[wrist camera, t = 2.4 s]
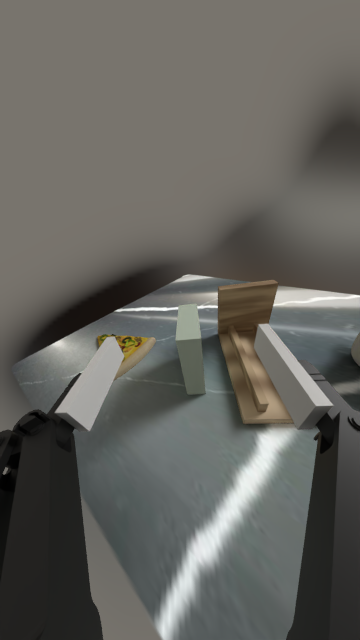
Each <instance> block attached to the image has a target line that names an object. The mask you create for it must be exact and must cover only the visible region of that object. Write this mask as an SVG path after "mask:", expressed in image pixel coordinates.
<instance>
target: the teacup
mask: <svg viewBox="0 0 360 640" xmlns="http://www.w3.org/2000/svg"><path fill="white" fill-rule="evenodd" d="M351 355H352V357H353V359H354V361H355V362H356V363H357V364H358V365H359V366H360V333H359V334H358V336H357V337H356V339H355V341H354V343H353V345H352V348H351Z"/></svg>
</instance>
